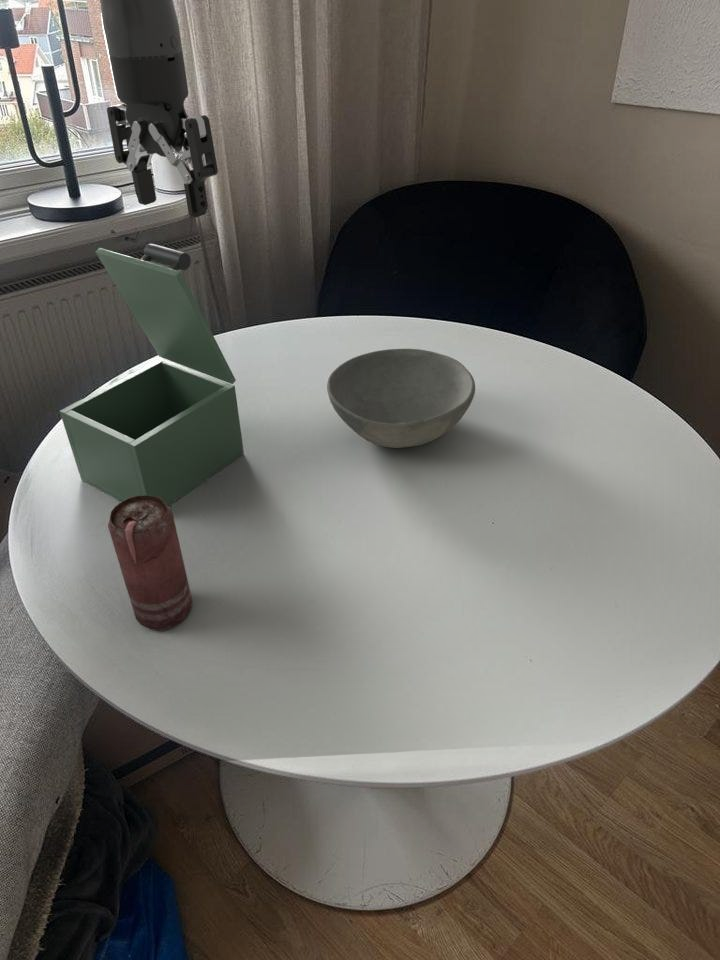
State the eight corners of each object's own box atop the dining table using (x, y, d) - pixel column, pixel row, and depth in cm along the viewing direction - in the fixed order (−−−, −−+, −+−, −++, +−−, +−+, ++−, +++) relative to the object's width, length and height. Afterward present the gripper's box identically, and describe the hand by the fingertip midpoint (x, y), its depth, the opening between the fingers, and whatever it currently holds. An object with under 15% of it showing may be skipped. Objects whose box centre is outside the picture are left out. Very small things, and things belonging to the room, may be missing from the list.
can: (130, 636, 73) (99, 536, 65) (140, 592, 78) (112, 494, 70) (189, 632, 74) (166, 532, 65) (195, 588, 79) (174, 490, 70)
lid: (176, 275, 78) (206, 245, 80) (94, 251, 85) (124, 224, 87) (232, 384, 92) (256, 356, 95) (159, 356, 99) (183, 331, 101)
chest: (152, 518, 88) (134, 446, 82) (81, 480, 95) (59, 410, 88) (244, 453, 100) (234, 385, 93) (174, 423, 106) (161, 357, 99)
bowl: (483, 468, 96) (489, 418, 91) (330, 474, 95) (327, 424, 91) (458, 389, 113) (462, 344, 108) (327, 394, 112) (325, 349, 107)
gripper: (71, 48, 74) (107, 207, 84) (164, 57, 67) (192, 229, 77) (128, 40, 78) (155, 192, 88) (220, 48, 72) (239, 211, 82)
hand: (172, 209), depth 83 cm, fingers open, 8 cm apart
